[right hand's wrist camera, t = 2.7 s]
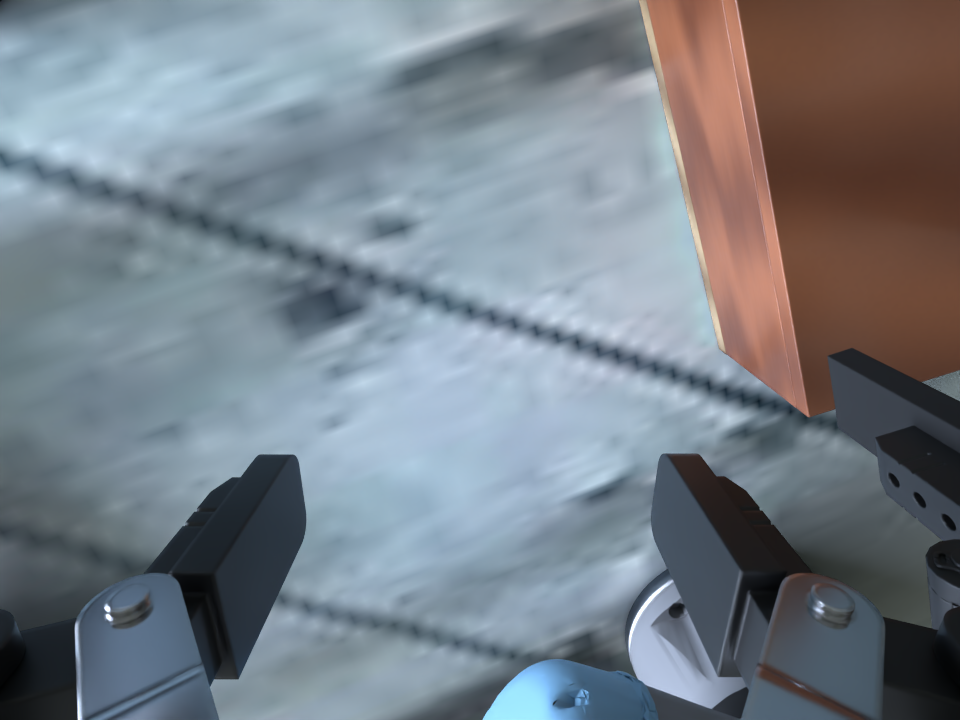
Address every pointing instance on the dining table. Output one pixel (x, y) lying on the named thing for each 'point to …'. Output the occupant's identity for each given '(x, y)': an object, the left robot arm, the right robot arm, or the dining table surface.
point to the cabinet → (819, 179)
